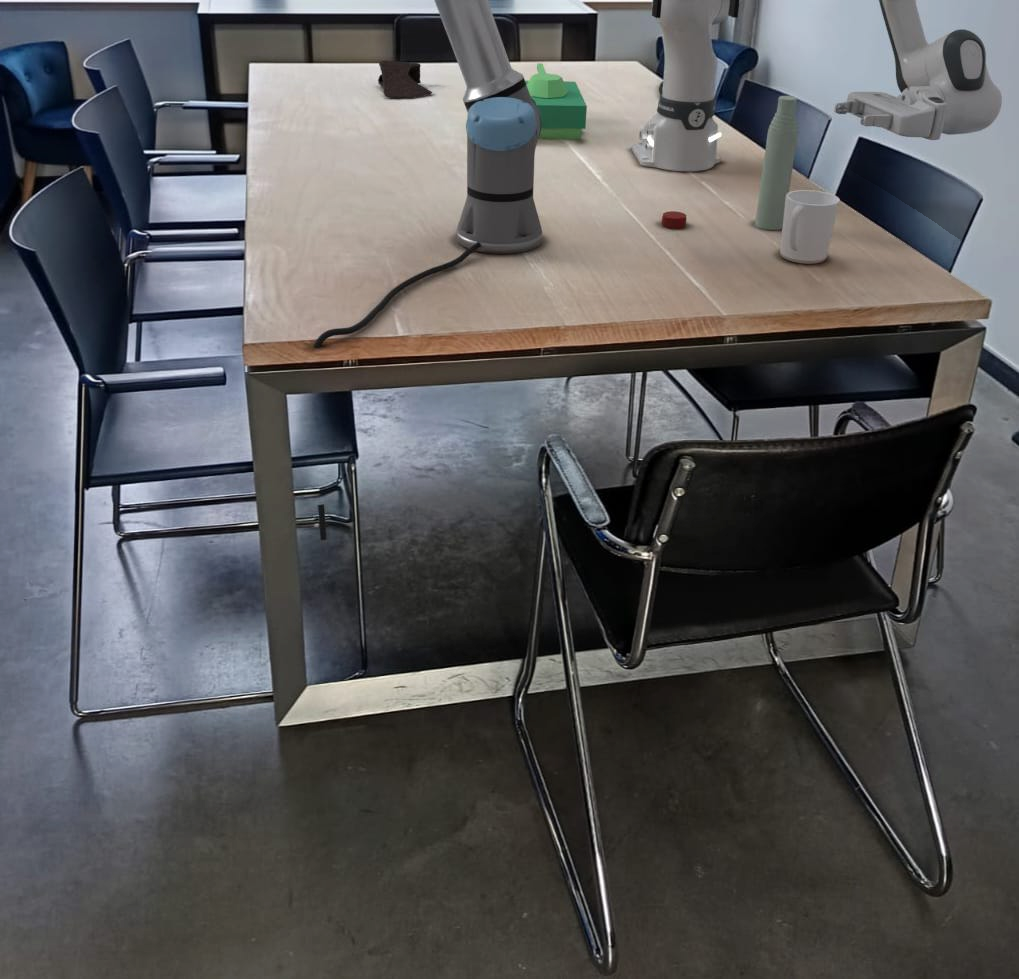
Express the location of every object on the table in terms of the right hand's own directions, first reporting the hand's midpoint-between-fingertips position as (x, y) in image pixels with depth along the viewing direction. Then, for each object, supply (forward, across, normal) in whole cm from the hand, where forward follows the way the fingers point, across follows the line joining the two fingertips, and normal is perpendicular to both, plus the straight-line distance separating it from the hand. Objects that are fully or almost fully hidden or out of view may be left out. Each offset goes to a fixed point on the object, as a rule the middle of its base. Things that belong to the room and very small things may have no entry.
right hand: (849, 114), depth 199 cm
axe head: (+61, -127, +20) cm, 142 cm away
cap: (+31, -4, +18) cm, 36 cm away
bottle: (+13, 0, +20) cm, 24 cm away
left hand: (+31, -4, -16) cm, 35 cm away
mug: (+16, +18, +20) cm, 31 cm away
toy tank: (+34, -83, +20) cm, 92 cm away
